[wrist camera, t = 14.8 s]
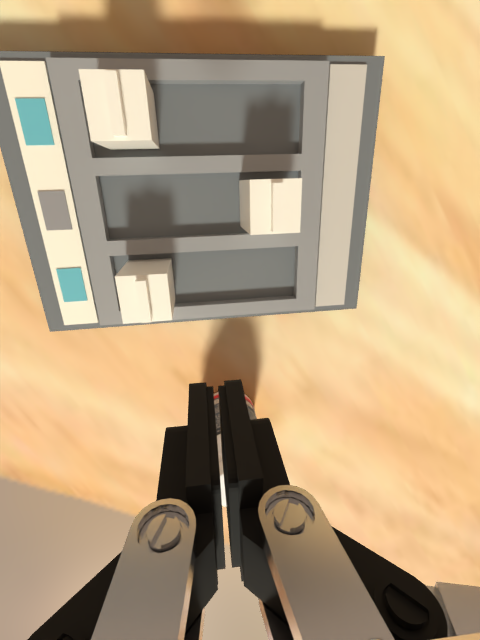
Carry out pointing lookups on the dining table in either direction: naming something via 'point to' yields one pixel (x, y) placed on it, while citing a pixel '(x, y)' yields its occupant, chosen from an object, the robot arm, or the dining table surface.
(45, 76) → the switch bank
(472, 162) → the dining table surface
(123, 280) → the tab
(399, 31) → the dining table surface
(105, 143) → the tab
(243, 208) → the tab
